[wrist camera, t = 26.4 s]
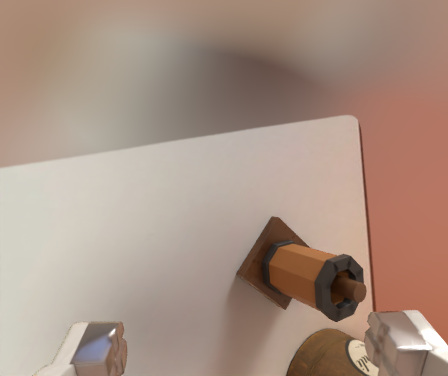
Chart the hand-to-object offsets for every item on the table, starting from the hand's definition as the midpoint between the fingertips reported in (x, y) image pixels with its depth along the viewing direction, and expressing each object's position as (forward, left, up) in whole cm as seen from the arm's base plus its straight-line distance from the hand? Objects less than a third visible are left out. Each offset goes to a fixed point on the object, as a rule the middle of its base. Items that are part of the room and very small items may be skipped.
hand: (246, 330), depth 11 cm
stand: (-9, +22, -26) cm, 35 cm away
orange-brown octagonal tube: (-9, +22, -24) cm, 34 cm away
